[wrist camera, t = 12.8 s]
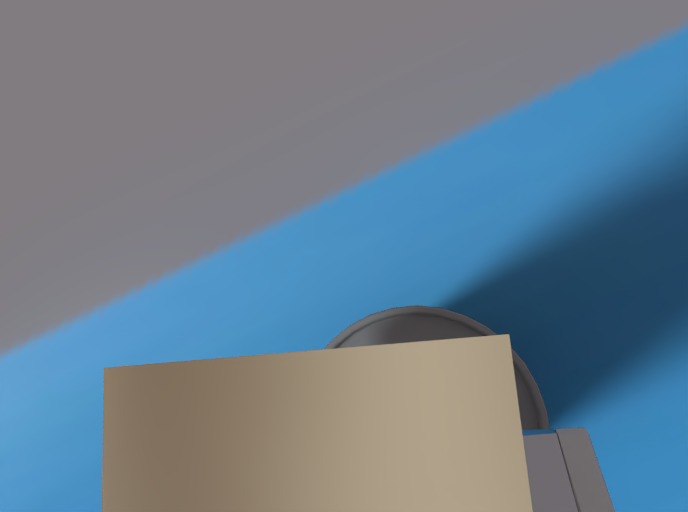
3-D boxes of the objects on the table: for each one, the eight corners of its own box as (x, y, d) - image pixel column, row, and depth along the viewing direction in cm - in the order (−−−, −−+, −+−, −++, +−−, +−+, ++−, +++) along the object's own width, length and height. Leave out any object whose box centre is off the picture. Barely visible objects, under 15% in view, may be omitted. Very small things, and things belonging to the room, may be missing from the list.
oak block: (477, 351, 16) (508, 333, 6) (500, 542, 15) (580, 871, 5) (306, 365, 17) (103, 367, 7) (317, 546, 16) (97, 833, 6)
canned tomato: (516, 331, 28) (554, 311, 17) (514, 500, 26) (553, 592, 16) (358, 322, 29) (303, 299, 19) (348, 481, 28) (282, 553, 17)
